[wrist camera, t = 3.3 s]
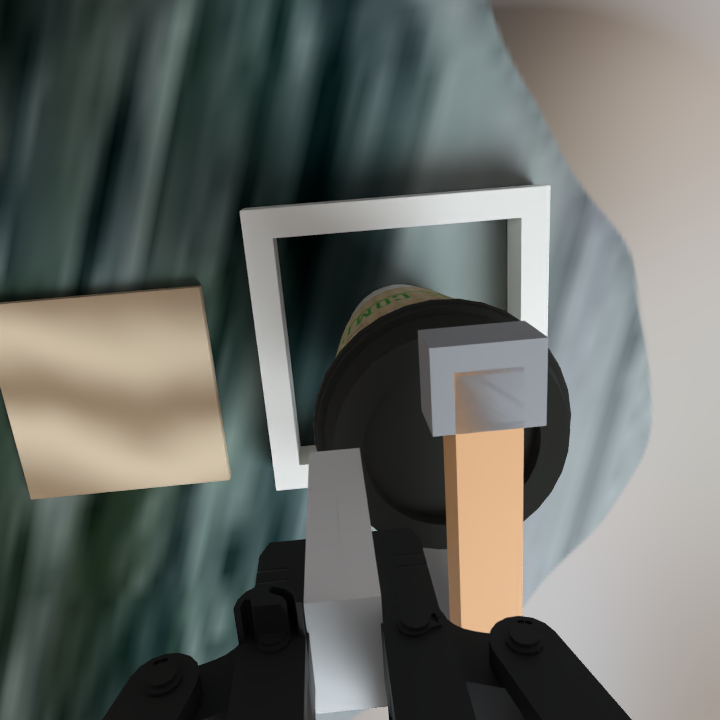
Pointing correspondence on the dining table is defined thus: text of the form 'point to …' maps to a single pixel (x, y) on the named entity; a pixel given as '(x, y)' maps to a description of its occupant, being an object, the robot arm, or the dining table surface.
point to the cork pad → (112, 391)
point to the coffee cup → (417, 411)
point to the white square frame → (268, 223)
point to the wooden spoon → (484, 456)
